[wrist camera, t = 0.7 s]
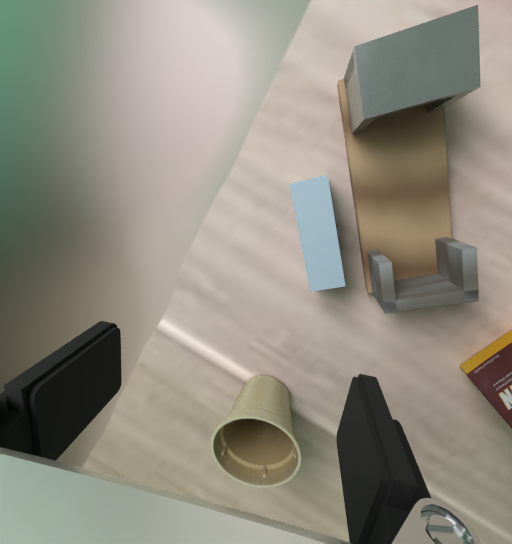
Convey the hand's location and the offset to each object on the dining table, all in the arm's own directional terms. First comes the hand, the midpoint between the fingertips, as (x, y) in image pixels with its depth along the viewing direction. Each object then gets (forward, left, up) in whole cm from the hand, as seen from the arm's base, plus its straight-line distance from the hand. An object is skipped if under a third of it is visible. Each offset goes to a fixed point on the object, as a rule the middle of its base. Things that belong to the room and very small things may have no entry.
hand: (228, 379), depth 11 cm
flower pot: (+6, +18, -22) cm, 29 cm away
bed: (-12, -4, -21) cm, 25 cm away
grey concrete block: (-12, -12, -20) cm, 26 cm away
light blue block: (-4, -2, -22) cm, 22 cm away
